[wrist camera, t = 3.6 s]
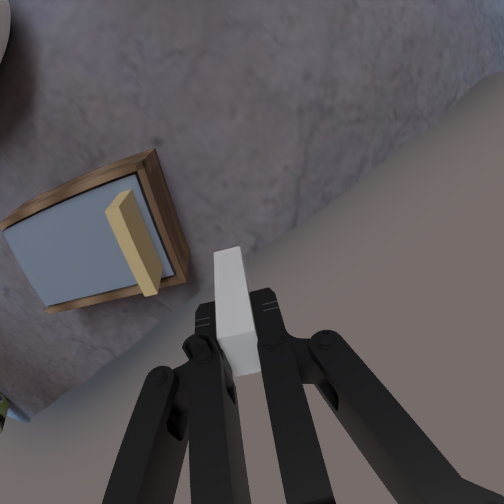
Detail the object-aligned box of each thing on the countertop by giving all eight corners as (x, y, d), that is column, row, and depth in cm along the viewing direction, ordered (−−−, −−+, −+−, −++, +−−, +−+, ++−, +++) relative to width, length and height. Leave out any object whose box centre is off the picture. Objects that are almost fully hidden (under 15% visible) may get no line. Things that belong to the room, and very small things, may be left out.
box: (64, 284, 32) (48, 314, 27) (23, 203, 26) (-3, 225, 21) (189, 251, 32) (186, 282, 27) (155, 148, 26) (141, 161, 21)
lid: (48, 301, 28) (33, 330, 24) (7, 227, 22) (-18, 250, 18) (175, 269, 28) (170, 302, 24) (137, 171, 23) (121, 189, 18)
